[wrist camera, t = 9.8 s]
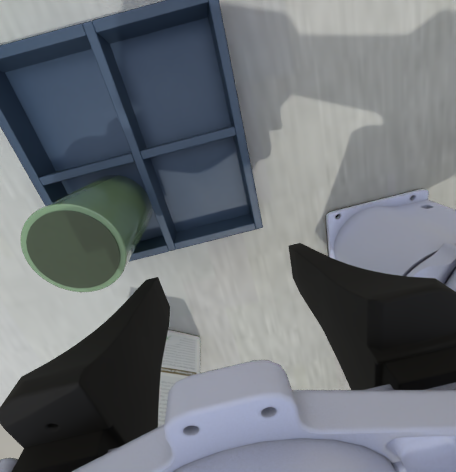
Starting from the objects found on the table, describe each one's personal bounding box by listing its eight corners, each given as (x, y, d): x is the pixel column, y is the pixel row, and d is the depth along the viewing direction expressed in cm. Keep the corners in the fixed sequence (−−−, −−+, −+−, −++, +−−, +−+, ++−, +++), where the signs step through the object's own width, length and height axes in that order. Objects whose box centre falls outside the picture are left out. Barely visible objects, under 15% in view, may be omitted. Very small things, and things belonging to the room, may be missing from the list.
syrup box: (150, 324, 28) (101, 510, 14) (202, 335, 29) (201, 515, 16) (139, 361, 30) (86, 552, 17) (188, 369, 31) (175, 554, 18)
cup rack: (214, 6, 17) (216, -14, 14) (256, 215, 24) (263, 227, 21) (-4, 66, 17) (-41, 56, 15) (96, 256, 24) (83, 273, 21)
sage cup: (137, 167, 20) (100, 192, 13) (161, 229, 23) (140, 280, 15) (71, 184, 21) (-4, 219, 13) (101, 244, 23) (52, 302, 16)
